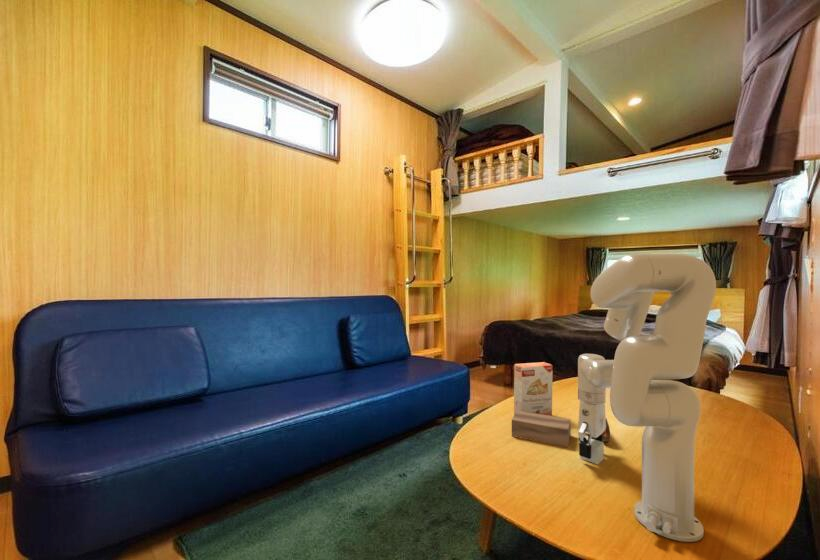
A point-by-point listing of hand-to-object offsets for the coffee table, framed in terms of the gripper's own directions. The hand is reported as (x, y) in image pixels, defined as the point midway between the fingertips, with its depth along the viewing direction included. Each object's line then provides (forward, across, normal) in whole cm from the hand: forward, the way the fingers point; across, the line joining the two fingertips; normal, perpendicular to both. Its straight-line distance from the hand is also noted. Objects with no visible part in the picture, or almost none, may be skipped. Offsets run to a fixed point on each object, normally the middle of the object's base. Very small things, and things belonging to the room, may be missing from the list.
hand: (591, 451), depth 108 cm
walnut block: (+3, +4, +18) cm, 18 cm away
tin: (+2, +18, +4) cm, 18 cm away
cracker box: (+3, +18, +28) cm, 33 cm away
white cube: (+2, 0, 0) cm, 2 cm away
